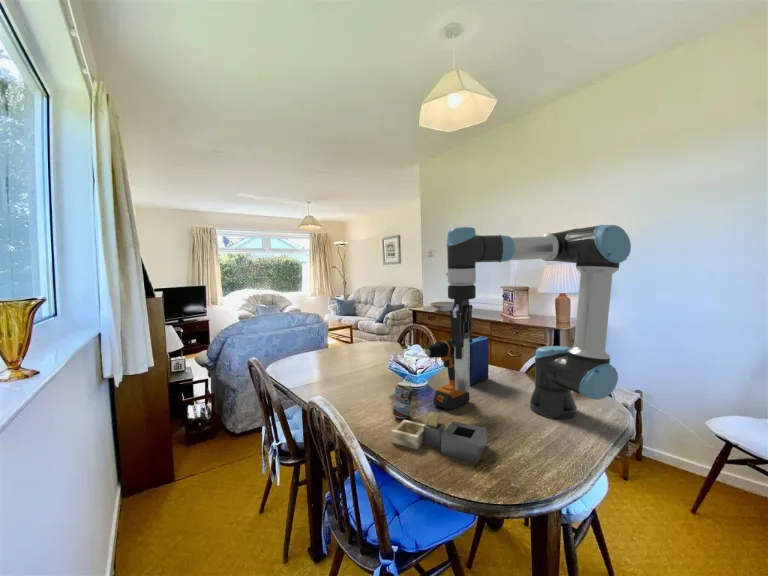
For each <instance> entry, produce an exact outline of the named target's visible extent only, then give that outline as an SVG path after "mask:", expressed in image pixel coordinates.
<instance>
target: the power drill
mask: <svg viewBox="0 0 768 576" xmlns="http://www.w3.org/2000/svg"><path fill="white" fill-rule="evenodd" d="M424 353H425V354H426V356H427V357H428V358H430V359H432V358H433V359H434V358H435V359H436V358H439V359H440V360H441V362H443V367H444V368H447V374H448V380H449V383H448V384H444V385H442V386H441V387H438V388H437V389H435V393H434V397H433V400H432V401H433V405H434V406H437V407H439V408H443V409H446V410H449V411H451V410H454V409H456V408H458V407H459V406H462V405H464V404H467V403H468V402H470V399H471V398H470V392H469V391H466V392H461V391H457V390H456V389H455V361H454V347H452V346H451V339H447V340H441V341H438V342H435V343H432V344H431V345H430V344H429V345H428V346H427V347H426V349H425V352H424Z"/></svg>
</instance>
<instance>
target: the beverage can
mask: <svg viewBox="0 0 768 576" xmlns="http://www.w3.org/2000/svg"><path fill="white" fill-rule="evenodd" d="M412 399H413V387H412V383H409V382H405V381H399V382H397V384H396V386H395V389H394V398H393V406H392V407H393V410H392V414H393V415H394V416H395V417H396V418H398V419H407V418H408V417H410V416H411V409H412V408H411V405H412Z"/></svg>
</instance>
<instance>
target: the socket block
mask: <svg viewBox="0 0 768 576" xmlns="http://www.w3.org/2000/svg"><path fill="white" fill-rule="evenodd" d="M423 429H424V442H423V444H425V445H428V446H432V447H435V448H436V447H437V448H441V454H442V455H446V456H449V457H453V458H458V459H462V460H465V461H468V462H473V463H476V464H477V463H478V462H479V460H480V459H481V457H482V455H483V453H484V450H485V448H486V447H487V428H485V427H480V426H477V425H472V424H468V423H467V424H466V423H462V422H458V421H455V420H454V421H453V420H452V422H451V423H450V424H449V425H448V427H447V428H446V424H445V423H442V422H440V427H439V428H438V429H437V428H432V427H429V420H428V422H426V423H425V426H424V427H423Z"/></svg>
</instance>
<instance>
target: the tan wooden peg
mask: <svg viewBox="0 0 768 576" xmlns="http://www.w3.org/2000/svg"><path fill="white" fill-rule="evenodd" d="M441 417H442V412H437V411H432V410H430V411H429V412H428V413H427V415H426V418H427V419H428V421H429V427H432V428H437V429H438V428H439V427H440V423H441V422H440V418H441Z"/></svg>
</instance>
